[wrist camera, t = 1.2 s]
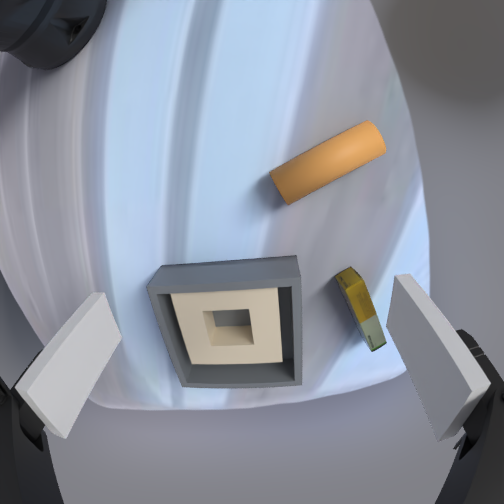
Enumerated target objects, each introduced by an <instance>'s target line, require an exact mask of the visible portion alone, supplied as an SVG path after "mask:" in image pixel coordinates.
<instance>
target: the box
mask: <svg viewBox="0 0 504 504" xmlns="http://www.w3.org/2000/svg"><path fill="white" fill-rule="evenodd" d="M147 291H148V294H149V297H150V300H151V303H152V306H153V310H154V313H155V316H156V319H157V322H158V325H159V327H160V330H161V333H162V336H163V339H164V342H165V344H166V347H167V350H168V352H169V355H170V358H171V360H172V363H173V365H174V368H175V371H176V373H177V375H178V378H179V380H180V383H181V385H182V387H191V388H265V387H283V386H297V385H302V295H301V275H300V270H299V266H298V261H297V256H296V255H295V256H282V257H269V258H256V259H243V260H230V261H217V262H204V263H190V264H176V265H162V266H161V267H160V269H159V270H158V271H157V273H156V274H155V275H154V277H153V278H152V280H151V281H150V282H149V284H148V285H147Z"/></svg>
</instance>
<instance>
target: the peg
mask: <svg viewBox="0 0 504 504" xmlns="http://www.w3.org/2000/svg"><path fill="white" fill-rule="evenodd" d="M385 153H386V146H385V143H384V140H383V138H382V136H381V134H380V132H379V131H378V129H377V128H376V127H375V126H374V124H372V123H371V122H370V121H365V122H363V123H361V124H359V125H357V126H355V127H353V128H351V129H349V130H347V131H345V132H343V133H341V134H339V135H337V136H335V137H333V138H331V139H329V140H327V141H325V142H323V143H321V144H319V145H318V146H316V147H314V148H312V149H310V150H308V151H306V152H304V153H303V154H301V155H299V156H297V157H295V158H293V159H292V160H290V161H288V162H286V163H284V164H283V165H281V166H279V167H277V168H276V169H274V170H272V171H270V172H269V173H270V176H271V178H272V180H273V181H274V183H275V185H276V187H277V189H278V190H279V192H280V194H281V195H282V197H283V199H284V200H285V202H286V203H287V205H290V204H291V203H293V202H295V201H297V200H299V199H301V198H302V197H304V196H306V195H308V194H310V193H312V192H313V191H315V190H317V189H319V188H321V187H323V186H325V185H326V184H328V183H330V182H332V181H334V180H336V179H338V178H339V177H341V176H343V175H345V174H347V173H349V172H351V171H353V170H354V169H356V168H358V167H360V166H362V165H364V164H366V163H368V162H370V161H372V160H373V159H375V158H377V157H379V156H381V155H383V154H385Z"/></svg>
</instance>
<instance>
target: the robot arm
mask: <svg viewBox="0 0 504 504" xmlns="http://www.w3.org/2000/svg"><path fill="white" fill-rule="evenodd" d="M106 1H107V0H0V51H2V52H8V53H10V54H12V55H13V56H15V57H16V58H18V59H19V60H21V61H22V62H23V63H24V64H25V65H27V66H28V67H31V68H36V69H44V70H46V69H52V68H55V67H58V66H60V65H62V64H63V63H65V62H67V61H68V60H69V59H71V58H72V57H73V56H74V55H75V54H77V53H78V52H79V51H80V50H81V49H82V48H83V46H84V45H85V44H86V43H87V42H88V40H89V39H90V38H91V36H92V35H93V33H94V32H95V30H96V29H97V27H98V25H99V23H100V21H101V19H102V17H103V14H104V11H105V7H106ZM386 327H387V329H388V331H389V333H390V335H391V337H392V339H393V341H394V343H395V345H396V347H397V349H398V351H399V353H400V355H401V358H402V360H403V362H404V364H405V366H406V368H407V370H408V372H409V375H410V377H411V379H412V381H413V383H414V386H415V388H416V390H417V392H418V395H419V397H420V400H421V402H422V404H423V406H424V409H425V411H426V414H427V416H428V419H429V421H430V424H431V426H432V429H433V431H434V434H435V437H436V439H437V442H439V441H442V440H444V439H447V438H449V437H452V436H455V435H456V434H457V432H458V431H459V430H460V429H461V427H462V426H463V428H464V430H465V432H466V433H465V434H464V435H463V436H462V437H461V439H460V440H459V441H458V442H457V443H456V445H455V447H454V448H453V449H457V447H458V446H459V445H460V446H459V449H458V452H457V454H456V457H455V459H454V462H453V465H452V467H451V470H450V472H449V474H448V477H447V479H446V481H445V484H444V486H443V488H442V490H441V492H440V494H439V496H438V498H437V500H436V502H435V504H504V381H503V380H502V378H501V377H500V376H499V374H498V372H497V371H496V369H495V368H494V366H493V365H492V363H491V362H490V360H489V359H488V358H487V356H486V355H484V352H483V351H482V349H481V348H480V347H479V345H478V344H477V342H476V341H475V340H474V338H473V337H472V336H471V335H469V334H468V333H467V332H465V331H464V330H462V329H461V330H457V331H455V330H454V329H453V327H452V326H451V324H450V323H449V322H448V320H447V319H446V318H445V317H444V315H443V314H442V313H441V311H440V310H439V309H438V308H437V306H436V305H435V304H434V302H433V301H432V300H431V299H430V297H429V296H428V295H427V294H426V292H425V291H424V290H423V289H422V288H421V286H420V285H419V284H418V283H417V282H416V280H415V279H414V278H413V277H412V276H411V274H403V275H395V277H394V284H393V291H392V297H391V303H390V308H389V314H388V319H387V324H386ZM121 339H122V336H121V334H120V332H119V329H118V327H117V324H116V322H115V319H114V317H113V314H112V312H111V309H110V307H109V304H108V301H107V299H106V296H105V293H104V292H101V293H91V295H90V296H89V297H88V298H87V299H86V300H85V301H84V302H83V303H82V304H81V306H80V307H79V308H78V309H77V310H76V311H75V312H74V314H73V315H72V316H71V317H70V318H69V319H68V320H67V322H66V323H65V324H64V325H63V326H62V327H61V329H60V330H59V331H58V332H57V333H56V335H55V336H54V337H53V338H52V339H51V341H50V342H49V343H48V344H47V346H46V347H45V348H44V349H42V350H41V351H40V352H39V353H38V354H37V355H36V356H35V358H34V359H33V361H32V362H31V363H30V364H29V365H28V368H26V369H25V371H24V372H23V373H22V375H21V376H20V377H19V379H18V380H17V382H16V383H15V384H14V386H13V387H12V388H11V390H10V389H9V388H8V387H7V385H6V384H5V382H4V381H3V380H2V379H1V377H0V504H64V503H63V499H62V496H61V493H60V490H59V486H58V483H57V480H56V476H55V472H54V468H53V464H52V460H51V455H50V450H49V445H48V441H47V435H46V433H45V432H44V430H43V428H44V426H45V425H46V427H47V428H48V429H49V430H50V431H51V432H52V433H53V434H55V435H58V436H60V437H63V438H67V436H68V434H69V432H70V430H71V428H72V426H73V424H74V422H75V420H76V418H77V416H78V414H79V413H80V410H81V409H82V407H83V405H84V403H85V401H86V399H87V398H88V396H89V394H90V392H91V390H92V389H93V387H94V385H95V383H96V381H97V380H98V378H99V376H100V374H101V373H102V371H103V369H104V367H105V366H106V364H107V362H108V361H109V359H110V357H111V355H112V354H113V352H114V350H115V349H116V347H117V345H118V344H119V342H120V340H121Z"/></svg>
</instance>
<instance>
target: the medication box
mask: <svg viewBox="0 0 504 504" xmlns="http://www.w3.org/2000/svg"><path fill="white" fill-rule="evenodd" d="M335 278H336V280H337V282H338V285H339V287H340V289H341V291H342V293H343V296H344V298H345V300H346V302H347V305H348V307H349V309H350V311H351V314H352V316H353V318H354V320H355V323H356V325H357V327H358V330H359V332H360V334H361V336H362V338H363V340H364V341H365V343H366V344H367V346H368V347H369V349H370V350H371V352H373V351H375V350H377V349H379V348H380V347H382V346H383V345H385V344H386V343H387V342H386V339H385V336H384V333H383V330H382V328H381V325H380V322H379V319H378V316H377V314H376V311H375V308H374V305H373V303H372V300H371V298H370V295H369V292H368V290H367V287H366V285H365V282H364V280H363V279H362V277H361V276H360V275H359V274H358V273H357V272H356V271H355V270H354V269H353V268H352V267H351V266H350V268H348V269H346V270H344V271H342V272H341V273H339V274H338V275H336V276H335Z"/></svg>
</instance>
